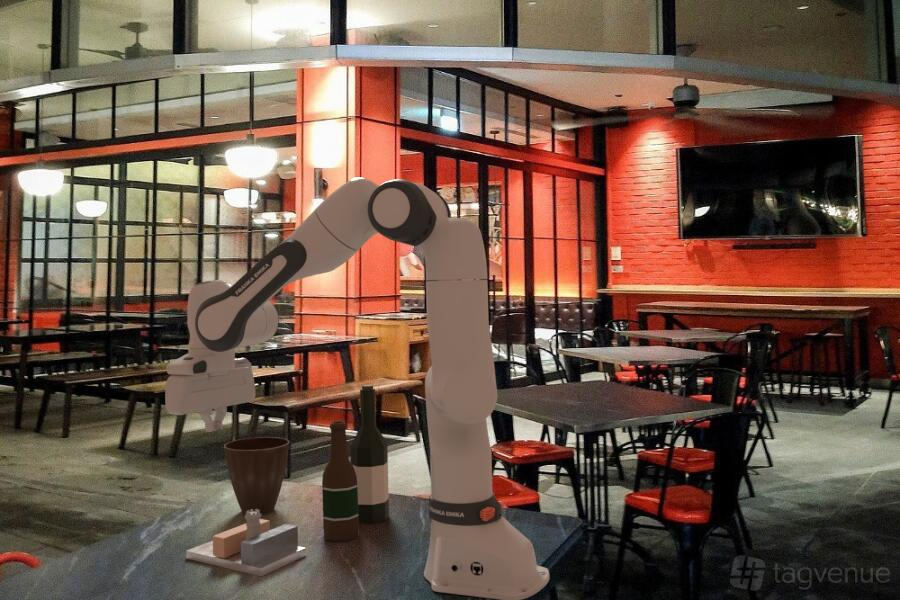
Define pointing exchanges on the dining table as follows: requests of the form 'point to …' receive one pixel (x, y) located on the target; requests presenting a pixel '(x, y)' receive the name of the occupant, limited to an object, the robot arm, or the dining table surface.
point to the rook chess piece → (253, 523)
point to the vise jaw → (234, 539)
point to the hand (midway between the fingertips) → (213, 430)
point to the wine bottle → (370, 463)
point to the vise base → (236, 559)
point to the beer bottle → (339, 490)
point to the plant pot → (257, 471)
